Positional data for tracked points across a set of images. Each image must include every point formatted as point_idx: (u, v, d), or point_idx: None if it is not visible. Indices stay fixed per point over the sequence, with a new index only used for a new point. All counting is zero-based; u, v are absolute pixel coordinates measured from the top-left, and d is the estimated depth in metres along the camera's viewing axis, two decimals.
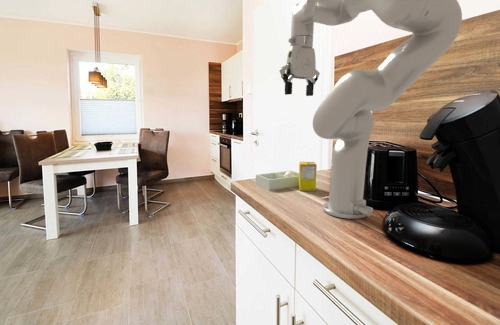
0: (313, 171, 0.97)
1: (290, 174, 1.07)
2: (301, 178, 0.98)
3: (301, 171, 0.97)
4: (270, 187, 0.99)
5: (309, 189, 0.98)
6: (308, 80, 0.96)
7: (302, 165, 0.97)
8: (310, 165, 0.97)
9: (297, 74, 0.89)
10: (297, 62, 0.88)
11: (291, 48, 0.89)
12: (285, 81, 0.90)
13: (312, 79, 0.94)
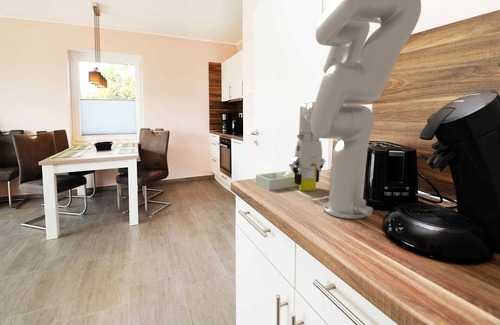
0: (313, 171, 0.97)
1: (290, 174, 1.07)
2: (301, 178, 0.98)
3: (301, 171, 0.97)
4: (270, 187, 0.99)
5: (309, 189, 0.98)
6: None
7: None
8: None
9: (305, 167, 0.96)
10: (305, 156, 0.95)
11: (299, 143, 0.96)
12: (295, 173, 0.98)
13: (318, 168, 1.01)
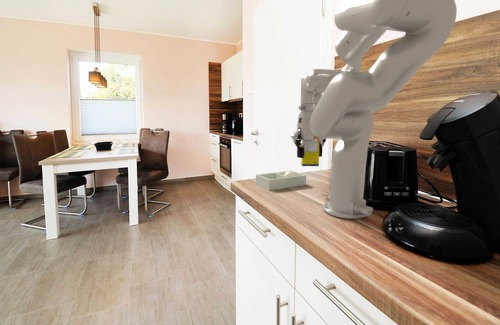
0: (316, 144, 0.94)
1: (290, 174, 1.07)
2: (304, 151, 0.95)
3: (304, 144, 0.95)
4: (270, 187, 0.99)
5: (312, 163, 0.95)
6: None
7: None
8: (313, 137, 0.94)
9: (308, 139, 0.93)
10: (308, 128, 0.93)
11: (301, 114, 0.93)
12: (297, 146, 0.95)
13: (321, 142, 0.98)
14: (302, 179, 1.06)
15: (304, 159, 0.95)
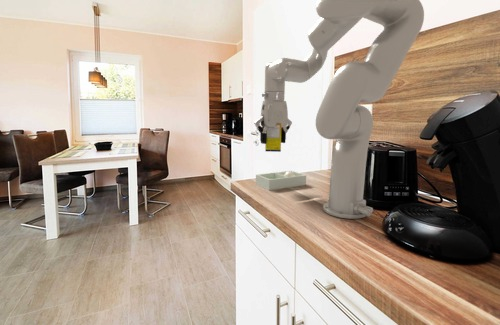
0: (278, 130, 0.98)
1: (290, 174, 1.07)
2: None
3: None
4: (270, 187, 0.99)
5: (274, 148, 1.00)
6: (281, 128, 1.04)
7: None
8: None
9: (270, 125, 0.97)
10: (270, 115, 0.96)
11: (264, 102, 0.97)
12: (260, 132, 0.99)
13: (284, 128, 1.02)
14: (302, 179, 1.06)
15: (267, 145, 1.00)
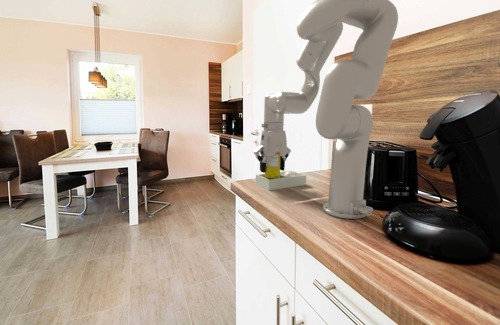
0: (277, 160, 1.00)
1: (290, 174, 1.07)
2: (266, 166, 1.01)
3: (266, 159, 1.01)
4: (270, 187, 0.99)
5: (274, 177, 1.02)
6: (280, 156, 1.06)
7: None
8: None
9: (269, 155, 0.99)
10: (269, 145, 0.98)
11: (264, 132, 0.99)
12: (260, 161, 1.01)
13: (283, 157, 1.04)
14: (302, 179, 1.06)
15: (266, 173, 1.02)
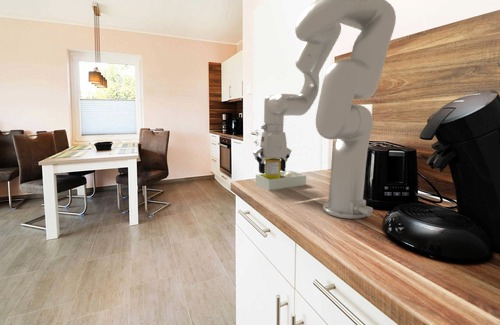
0: (277, 167, 1.01)
1: (290, 174, 1.07)
2: (266, 174, 1.01)
3: (266, 167, 1.01)
4: (270, 187, 0.99)
5: None
6: None
7: (267, 161, 1.01)
8: (274, 161, 1.00)
9: (269, 157, 0.99)
10: (269, 147, 0.99)
11: (263, 134, 0.99)
12: (259, 162, 1.01)
13: (284, 157, 1.04)
14: (302, 179, 1.06)
15: None
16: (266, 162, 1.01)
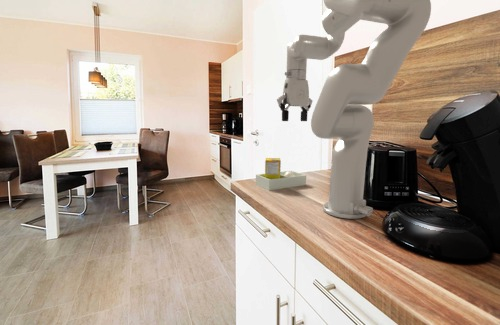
0: (277, 167, 1.01)
1: (290, 174, 1.07)
2: (266, 174, 1.01)
3: (266, 167, 1.01)
4: (270, 187, 0.99)
5: None
6: (302, 107, 1.06)
7: (267, 161, 1.01)
8: (274, 161, 1.00)
9: (293, 103, 0.99)
10: (293, 93, 0.98)
11: (287, 80, 0.99)
12: (282, 109, 1.00)
13: (306, 107, 1.04)
14: (302, 179, 1.06)
15: None
16: (266, 162, 1.01)
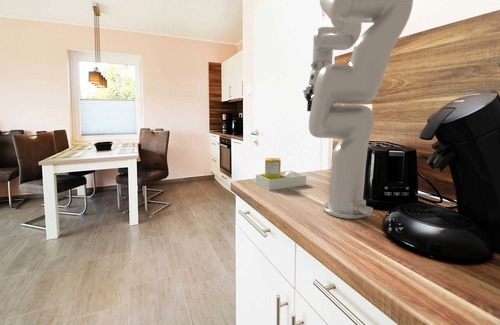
0: (277, 167, 1.01)
1: (290, 174, 1.07)
2: (266, 174, 1.01)
3: (266, 167, 1.01)
4: (270, 187, 0.99)
5: None
6: None
7: (267, 161, 1.01)
8: (274, 161, 1.00)
9: None
10: None
11: (313, 71, 1.02)
12: (308, 100, 1.04)
13: None
14: (302, 179, 1.06)
15: None
16: (266, 162, 1.01)
